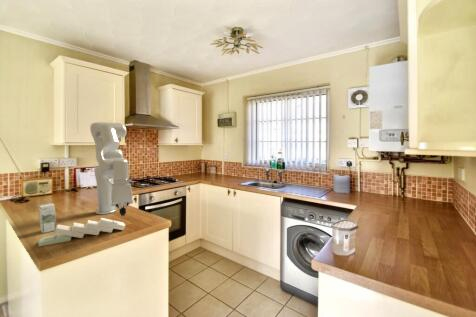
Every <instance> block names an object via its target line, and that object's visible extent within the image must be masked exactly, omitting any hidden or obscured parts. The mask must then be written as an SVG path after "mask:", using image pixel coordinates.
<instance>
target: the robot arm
mask: <svg viewBox="0 0 476 317" xmlns="http://www.w3.org/2000/svg"><path fill="white" fill-rule="evenodd" d="M89 129H90V133H91V134H90V135H91V136H92V138H93V141H94V147H95V158H96V161H97V163H98V166H97V167H95V168H94V177H95V180H96V181H95V182H96V194H97V196H96V197H97V209H96V210H95V214H96V215H109V214H113V213H115V212H117V210H119V215H121V217H122V216H126V214H127V210H126V209H127V207H128V206H130V205H131V204H134V201H133V190H132V184H131V182H133V180H132V178H130V176H129V173H130V172H129V161H128V159H127V158H124V154H123V150H121V149H120V148H119V147H120V141H119V138H125V137H126V136H127V132H128V131H127V127H126V126H125V125H124V124H122V123H119V122H101V121H99V122H93V123H91V124H90V127H89ZM111 179H112V181H113V183H112V182H111V181H110V180H111ZM122 204H123V206H122Z"/></svg>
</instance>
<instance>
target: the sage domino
mask: <svg viewBox="0 0 476 317" xmlns="http://www.w3.org/2000/svg"><path fill="white" fill-rule="evenodd" d="M72 237H73V236H67V235H62V234H55V235H51V236H45V237H41V238H40V239H39V241H38V243H37V245H38V247H43V246H49V245H54V244H60V243H64V242H71V240H72Z"/></svg>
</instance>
